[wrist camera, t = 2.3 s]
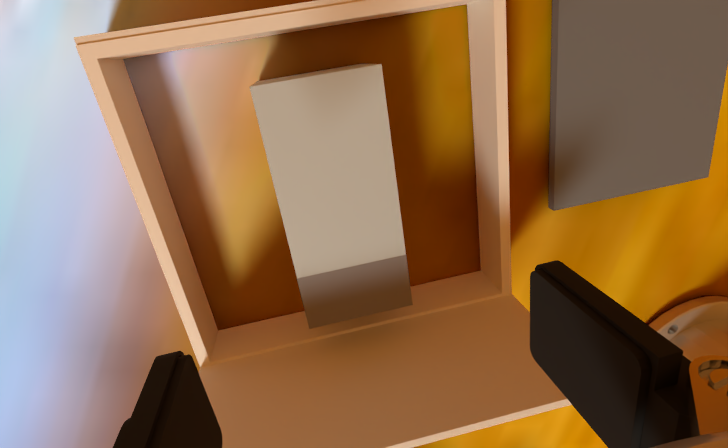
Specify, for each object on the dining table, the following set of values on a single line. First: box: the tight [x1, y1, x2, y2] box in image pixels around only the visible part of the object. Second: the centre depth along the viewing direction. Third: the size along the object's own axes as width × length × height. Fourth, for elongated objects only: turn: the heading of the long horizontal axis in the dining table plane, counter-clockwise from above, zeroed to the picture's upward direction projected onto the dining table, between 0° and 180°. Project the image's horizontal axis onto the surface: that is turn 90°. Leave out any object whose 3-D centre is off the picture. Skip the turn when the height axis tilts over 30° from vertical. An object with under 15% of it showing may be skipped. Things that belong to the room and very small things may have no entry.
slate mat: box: [548, 0, 728, 210], centre depth 24 cm, size 11×17×1 cm, turn 9°
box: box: [250, 64, 413, 329], centre depth 22 cm, size 6×12×5 cm, turn 9°
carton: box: [74, 0, 572, 448], centre depth 19 cm, size 19×18×11 cm
